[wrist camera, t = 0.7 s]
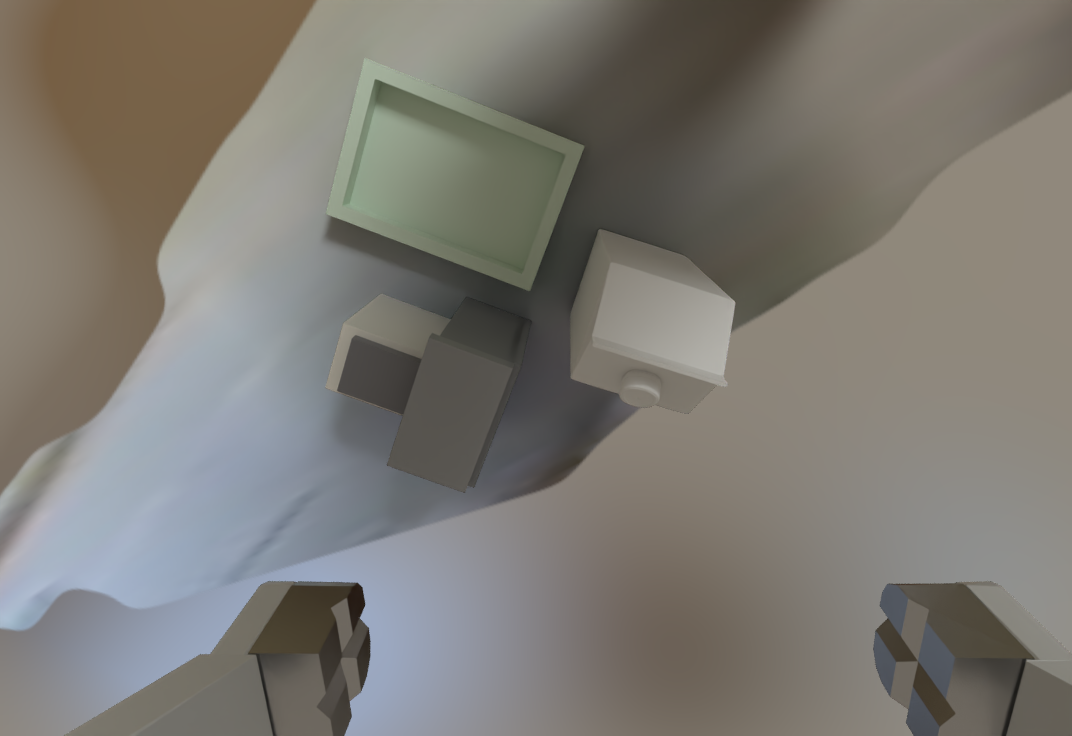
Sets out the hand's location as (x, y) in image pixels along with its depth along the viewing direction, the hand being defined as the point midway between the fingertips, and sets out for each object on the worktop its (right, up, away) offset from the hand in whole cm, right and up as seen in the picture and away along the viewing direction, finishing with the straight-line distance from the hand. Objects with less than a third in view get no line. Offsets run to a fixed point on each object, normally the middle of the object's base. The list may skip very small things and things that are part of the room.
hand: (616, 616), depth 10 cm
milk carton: (+6, +10, +39) cm, 41 cm away
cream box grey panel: (-10, +6, +41) cm, 43 cm away
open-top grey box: (-6, +5, +42) cm, 42 cm away
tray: (-7, +18, +37) cm, 42 cm away
